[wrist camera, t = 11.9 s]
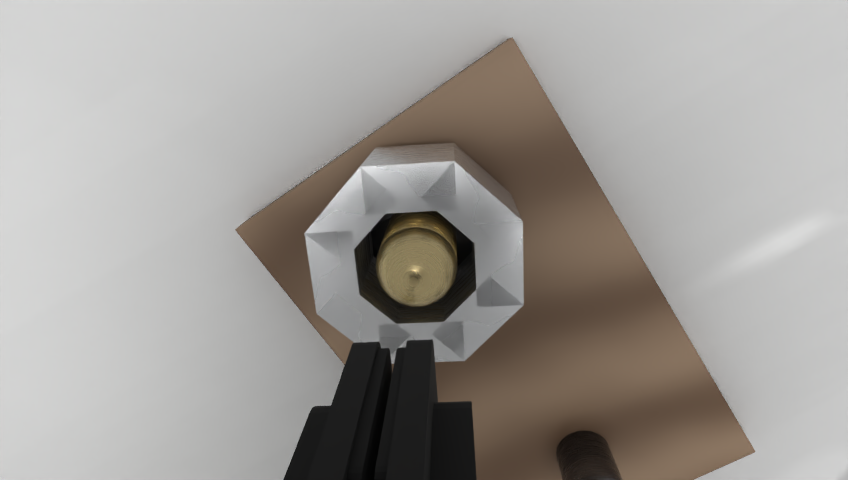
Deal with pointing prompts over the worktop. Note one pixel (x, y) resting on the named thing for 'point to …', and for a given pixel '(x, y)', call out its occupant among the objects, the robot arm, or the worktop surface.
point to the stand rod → (586, 457)
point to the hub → (417, 256)
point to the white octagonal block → (417, 192)
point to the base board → (539, 295)
